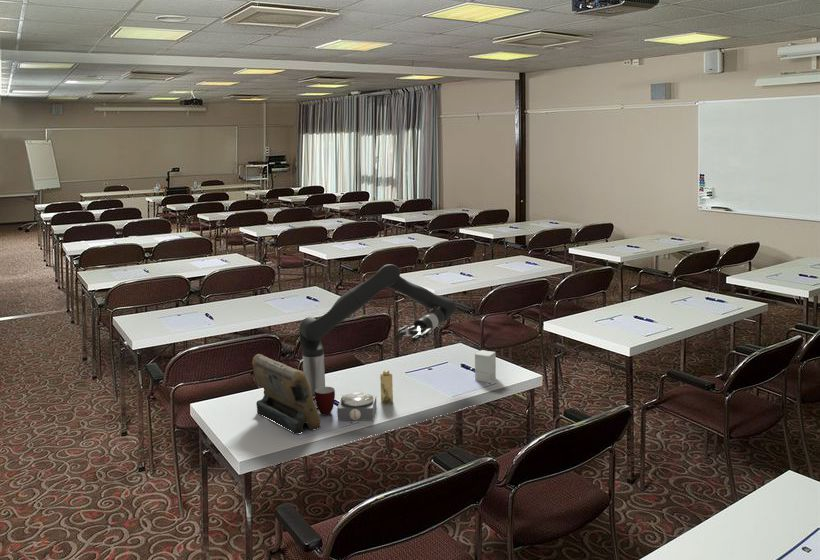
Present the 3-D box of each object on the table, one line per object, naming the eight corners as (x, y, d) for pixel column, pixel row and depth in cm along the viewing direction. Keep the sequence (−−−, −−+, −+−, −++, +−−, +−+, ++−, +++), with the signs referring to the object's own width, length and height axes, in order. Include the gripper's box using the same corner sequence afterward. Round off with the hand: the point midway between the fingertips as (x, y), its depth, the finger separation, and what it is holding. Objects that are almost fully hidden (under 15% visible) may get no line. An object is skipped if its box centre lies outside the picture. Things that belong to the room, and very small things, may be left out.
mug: (316, 420, 268) (314, 396, 266) (306, 414, 274) (305, 390, 272) (339, 413, 274) (338, 390, 272) (329, 407, 280) (328, 385, 278)
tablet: (328, 425, 263) (325, 364, 258) (300, 437, 253) (296, 373, 248) (276, 405, 284) (272, 348, 279) (248, 415, 274) (244, 356, 269)
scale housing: (337, 420, 267) (337, 408, 266) (343, 406, 281) (342, 395, 280) (372, 420, 266) (372, 408, 265) (376, 406, 280) (376, 395, 279)
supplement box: (496, 378, 311) (496, 351, 309) (489, 383, 305) (489, 356, 303) (481, 375, 315) (481, 349, 313) (474, 380, 309) (474, 353, 307)
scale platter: (338, 406, 267) (338, 404, 267) (343, 394, 280) (343, 392, 279) (371, 406, 266) (371, 404, 266) (374, 394, 279) (374, 392, 279)
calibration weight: (380, 404, 283) (379, 373, 280) (381, 399, 288) (380, 369, 285) (392, 404, 283) (391, 373, 280) (393, 399, 287) (392, 369, 285)
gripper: (412, 314, 301) (390, 329, 289) (438, 317, 293) (417, 332, 281) (414, 330, 304) (393, 345, 292) (440, 333, 295) (419, 349, 283)
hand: (404, 338), depth 286 cm, fingers open, 8 cm apart
